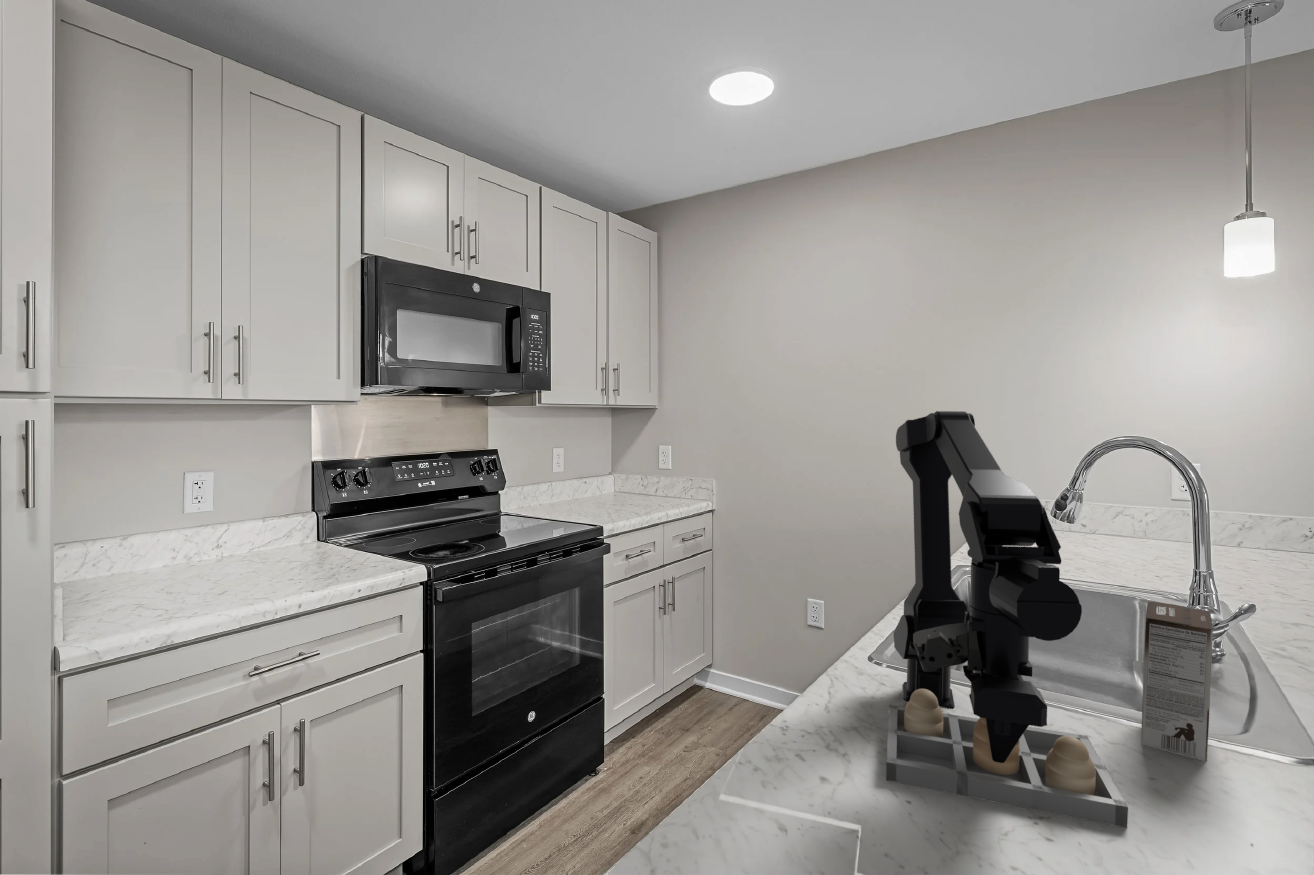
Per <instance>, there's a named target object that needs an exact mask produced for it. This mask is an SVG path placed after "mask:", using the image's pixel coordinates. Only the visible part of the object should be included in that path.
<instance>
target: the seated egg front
mask: <svg viewBox="0 0 1314 875" xmlns="http://www.w3.org/2000/svg"><path fill="white" fill-rule="evenodd" d="M1095 783H1096V770H1095V766H1094V764H1093V762H1092V760H1091V759H1090V757H1089V752H1088V749H1087V747H1086V746H1085V745H1084V744H1083V742H1081V741H1080V740H1079V739H1077V738H1075V737H1072V736H1062V737H1060V738H1058V739H1057V740H1056V741H1055V743H1054V745H1053V748H1052V749H1051V750H1050V751H1049V753H1048V755H1047V757H1046V774H1045V787H1049V788H1055V789H1060V790H1066V791H1071V792H1077V793H1082V794H1087V795H1093V796H1095Z"/></svg>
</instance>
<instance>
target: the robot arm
mask: <svg viewBox="0 0 1314 875" xmlns="http://www.w3.org/2000/svg"><path fill="white" fill-rule="evenodd" d="M975 423H976V422H975V418H974V415H973V414H972V413H971V412H970V413H969V412H967V411H962V410H961V411H956V410H955V411H953V410H952V411H951V410H949V411H948V410H946V411H945V410H942V411H941V410H939V411H938V410H936V411H934V412H931V413H929V414H928V415H925V416H923V417H918V418H914V419H907V420H905V421H904V423H902V424H901V425H900V426H899V427H898V428H897V430H896V434H895V445H896V449H897V452H899V459H900V465H901V466H902V469H904V472H906V474H907V475H908V477H909V478H910V480H911V481H912V501H913V502H912V503H913V506H912V507H913V537H914V543H913V546H914V576H915V578H914V581H915V582H914V585H913V587H912V588H911V589H910V592H909V593H908V594H907V596H906V598H905V599H904V602H903V615H901V616H900V619H899V621H898V622H897V625H896V627H895V629H894V631H893V642H894V643H893V645H894V649H895V651H897V653H898V654H899V655H900V656H901V658H902V659H903V660H906V664H907V665H906V681H904V682H903V701H904V702H907V703H908V702H909V701H910V697H911V695H912V693H913V692H914V691H916V690H918V689H927V690H929V691H931V692H932V693H933V694H934V695H935V696H936V698H937V700H938V705H939V707H940V708H945V709H946V708H947V709H952V710H953V709H955V700H954V694H953V690H952V688H951V679H952V678H951V677H952V676H951V673H952V671H951V670H952V667H953V666H958V665H962V664H965V663H966V664H965V665H962V670H963V673H964V677H966V678H967V679H968V681H969V682H970V693H969V694H968V696H969V699H970V703H971V707H972V708H971V709H972V712H973V715H975V716H977V717H979V718H980V717H981V718H985V719H986V725H987V731H988V737H989V743H990V749H991V754H992V759H993V761H994V762H999V763H1004V762H1005V761H1006V760H1007V758H1008V756H1009V755H1010V753H1011V752H1012V750H1013V748H1014V747H1015V745H1016V744H1017V742H1018V740H1019V739H1020V738H1021V736H1022V734H1023V733H1024V732H1025V730H1026V729H1027V727H1037V728H1043V727H1047V726H1048V704H1047V703H1046V701H1045V699H1044V696H1043V694H1042V693H1041V691H1040V690H1039V689H1038V688H1037V687H1036V686H1035V685H1034V684H1033V683H1032V682H1031V681H1029V680H1024V678H1023V677H1022V676H1024V677H1033V666H1032V664H1031V662H1030V660H1029V658H1030V657H1029V656H1030V654H1029V653H1030V638H1036V639H1038V640H1040V641H1045V642H1053V641H1058V640H1062V639H1063V638H1066V637H1068V635H1070V634H1072V633H1073V632H1074V631H1075V629H1077V627H1078V625H1079V623H1080V621H1081V617H1082V608H1083V607H1082V604H1081V603H1080V599H1079V597H1078V595H1077V593H1076V592H1075V591H1074V589H1072V587H1070V585H1068V584H1067V583H1065V582H1063V581H1061V580H1060V576H1061V575H1060V574H1061V573H1060V567H1058V566H1056V565H1061V564H1062V558H1061V554H1060V552H1059V551H1060V550H1061V548H1062V546H1061V544H1060V542H1059V540H1058V538H1057V535H1056V533H1055V530H1054V529H1053V526H1052V525H1051V522H1050V520H1049V517H1048V514H1047V511H1046V509H1045V507H1044V506H1043V504H1042V502H1041V500H1040V499H1039V498H1038V497H1037V495H1035V493H1033V491H1032V490H1031V489H1030V488H1029V487H1028V486H1027V485H1026V484H1025V483H1024V482H1022V481H1019V480H1017V479H1016V478H1013V477H1011V476H1009V475H1006V474H1005V473H1004V471H1003V470H1002V468H1001V467H1000V465H999V464H998V462H997V461H996V459H995V458H994V456H993V454H992V452H991V451H990V449H989V448H988V446H987V445H986V443H985V442H984V439H983V438H982V437H981V434H980V433H979V431H978V430H977V428H976V424H975ZM951 477H953V479H954V481H955V483H956V485H957V487H958V489H959V491H960V493H961V496H962V501H961V504H960V507H959V510H958V517H959V525H960V528H961V531H962V534H963V536H964V539H965V541H966V543H967V546H968V548H969V549H968V550H967V552H966V553H967V556H968V557H969V558H971V562H970V587H969V588H970V594H969V595H970V596H969V598H970V599H969V608H968V606H967V605H966V603H965V601H964V600H961V599H960V597H959V596H958V594H957V592H956V591H955V590H954V588H953V587H952V586H953V585H952V583H953V582H952V559H951V558H952V557H951V556H952V555H951V554H952V553H951V526H950V523H951V521H950V503H949V502H950V498H949V495H950V494H949V493H950V492H949V480H950V479H951ZM1035 544H1036V546H1033V545H1035Z"/></svg>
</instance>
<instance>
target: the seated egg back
mask: <svg viewBox="0 0 1314 875" xmlns="http://www.w3.org/2000/svg"><path fill="white" fill-rule="evenodd" d="M904 707H905V712H904V732H910V733H916V734H922V735H927V736H933V737H939V738H943V713H944V712H943V711H942V707H939V705H938V700H937V698H936V696H935V695H934V694H933V693H932V692H931V691H929V690H927V689H918V690H916V691H914V692H913V693H912V695H911V697H910V701H909V702H907V703H906V705H905V706H904Z"/></svg>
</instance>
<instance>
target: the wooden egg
mask: <svg viewBox="0 0 1314 875" xmlns="http://www.w3.org/2000/svg"><path fill="white" fill-rule="evenodd" d="M978 719H979V720H978V721H977V722H976V724H975V726H974V733H973V761H974V763H975V764H976V765H978V766H979V767H981V768H982V769H984V770H987V771H989V772H992V773H997V774H1003V775H1010V774H1014V773H1016V772H1018V770H1019V740H1018V742H1017V744H1016V745H1015V747H1014V748H1013V750H1012V752H1011V753H1010V755H1009V756H1008V758H1007V760H1006V761H1005V762H1004V763H999V762H994V761H993V759H992V754H991V749H990V743H989V737H988V731H987V725H986V719H985V718H981V717H979V718H978Z"/></svg>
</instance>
